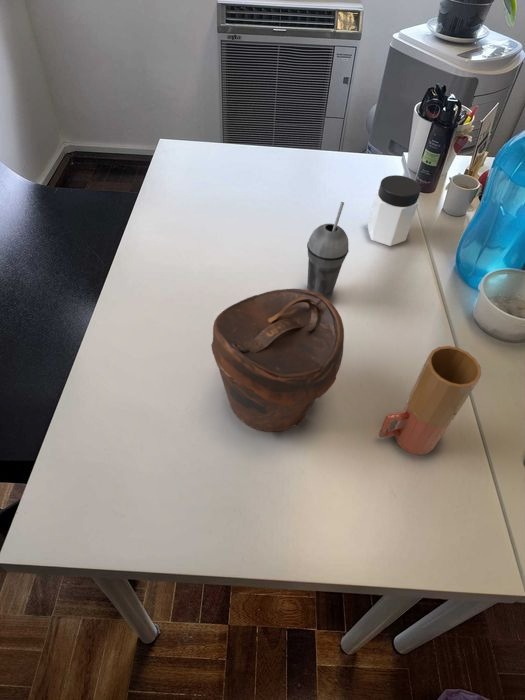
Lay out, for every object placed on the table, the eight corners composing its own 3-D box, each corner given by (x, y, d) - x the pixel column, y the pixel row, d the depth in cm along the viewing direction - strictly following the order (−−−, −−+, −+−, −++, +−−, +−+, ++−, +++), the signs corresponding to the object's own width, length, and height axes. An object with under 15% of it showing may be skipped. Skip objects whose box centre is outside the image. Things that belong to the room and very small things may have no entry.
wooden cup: (443, 385, 67) (467, 344, 60) (462, 423, 63) (490, 383, 56) (401, 390, 66) (420, 348, 60) (418, 429, 62) (440, 389, 55)
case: (335, 359, 80) (356, 279, 66) (320, 464, 67) (343, 390, 53) (233, 340, 82) (233, 257, 68) (199, 439, 69) (192, 361, 55)
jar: (408, 247, 102) (426, 197, 93) (371, 246, 101) (385, 196, 92) (399, 223, 108) (415, 174, 99) (364, 222, 107) (377, 173, 98)
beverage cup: (293, 288, 91) (305, 195, 76) (326, 280, 93) (345, 188, 78) (309, 313, 87) (326, 220, 72) (344, 304, 89) (367, 212, 74)
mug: (425, 416, 73) (443, 386, 67) (441, 452, 69) (462, 423, 63) (368, 423, 72) (381, 393, 66) (382, 460, 68) (396, 431, 62)
